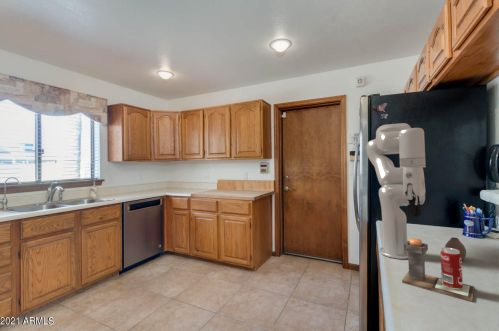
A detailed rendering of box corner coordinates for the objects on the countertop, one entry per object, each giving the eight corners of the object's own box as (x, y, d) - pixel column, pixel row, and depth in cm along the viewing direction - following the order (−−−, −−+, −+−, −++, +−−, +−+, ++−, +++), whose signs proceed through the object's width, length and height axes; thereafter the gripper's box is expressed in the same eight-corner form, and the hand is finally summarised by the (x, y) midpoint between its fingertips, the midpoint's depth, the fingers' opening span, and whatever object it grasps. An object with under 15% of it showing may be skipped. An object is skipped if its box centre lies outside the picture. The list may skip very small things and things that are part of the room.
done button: (408, 246, 85) (408, 240, 85) (411, 243, 87) (410, 237, 87) (420, 248, 82) (420, 242, 82) (423, 245, 85) (422, 239, 85)
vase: (441, 256, 105) (440, 236, 105) (457, 255, 105) (456, 235, 105) (453, 262, 98) (453, 241, 98) (471, 261, 98) (470, 240, 98)
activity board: (402, 282, 84) (400, 245, 84) (409, 272, 91) (407, 238, 91) (472, 302, 71) (470, 258, 71) (474, 288, 78) (472, 249, 78)
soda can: (452, 282, 81) (450, 246, 81) (467, 289, 76) (465, 251, 76) (437, 283, 80) (436, 247, 81) (452, 291, 75) (450, 253, 75)
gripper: (420, 163, 76) (422, 221, 76) (429, 162, 88) (431, 212, 88) (393, 164, 82) (395, 218, 82) (405, 163, 93) (407, 210, 93)
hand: (414, 215), depth 85 cm, fingers closed
